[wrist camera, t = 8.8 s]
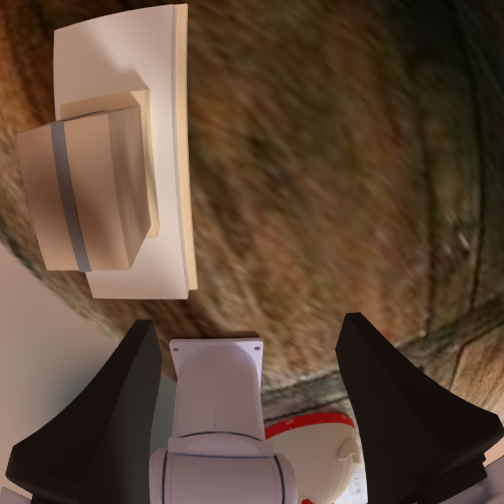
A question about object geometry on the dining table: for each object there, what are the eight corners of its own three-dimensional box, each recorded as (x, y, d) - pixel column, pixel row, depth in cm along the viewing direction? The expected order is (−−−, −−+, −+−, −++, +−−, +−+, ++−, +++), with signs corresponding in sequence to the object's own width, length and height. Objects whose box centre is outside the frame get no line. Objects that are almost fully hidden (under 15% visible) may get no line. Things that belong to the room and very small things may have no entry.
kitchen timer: (293, 459, 42) (306, 536, 29) (235, 440, 36) (242, 538, 23) (367, 426, 38) (393, 510, 25) (321, 401, 32) (349, 515, 19)
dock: (188, 6, 13) (182, -5, 11) (197, 284, 22) (195, 304, 20) (65, 29, 12) (48, 25, 10) (98, 285, 22) (89, 303, 20)
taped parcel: (160, 228, 17) (137, 286, 13) (88, 231, 17) (48, 284, 12) (150, 89, 13) (111, 91, 9) (70, 102, 13) (10, 116, 8)
